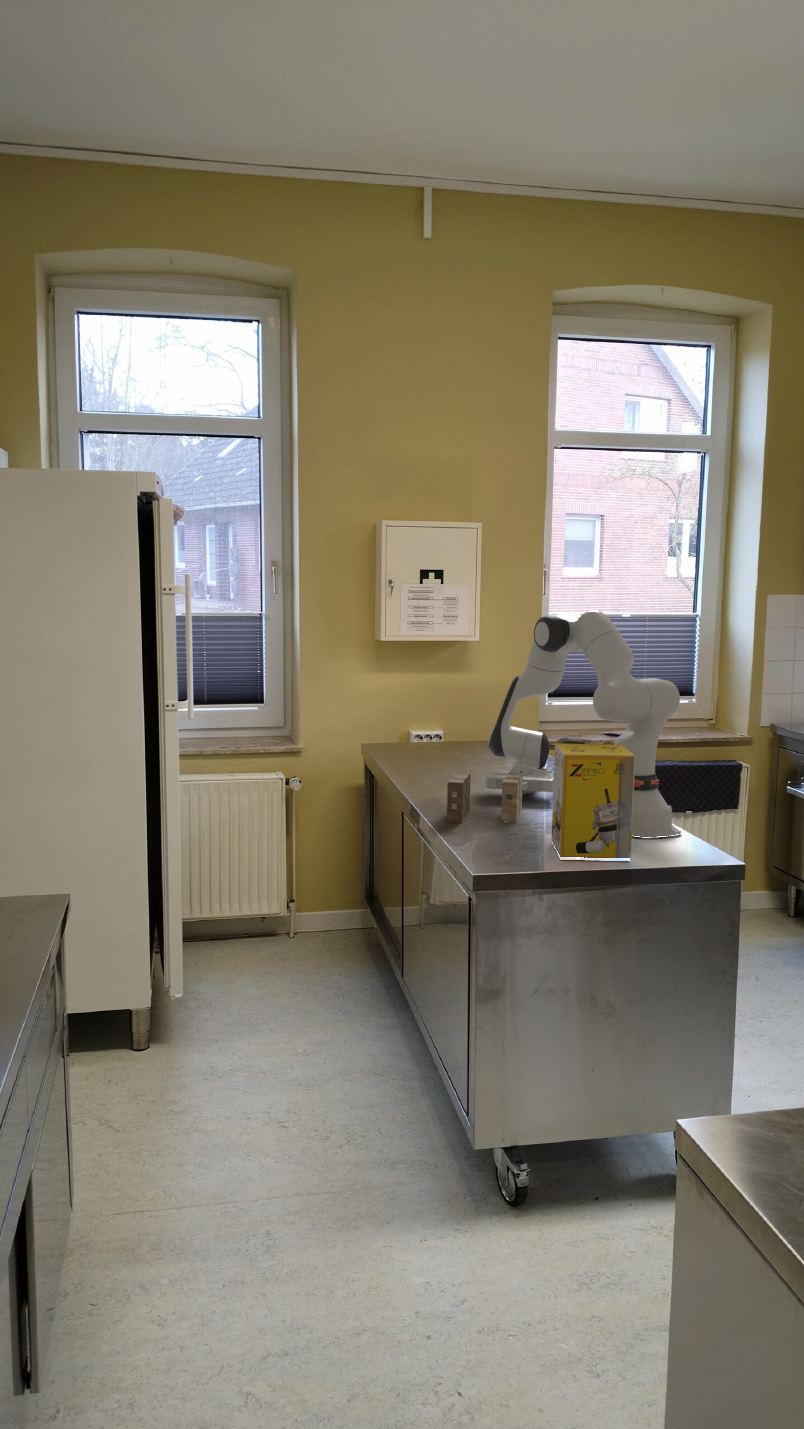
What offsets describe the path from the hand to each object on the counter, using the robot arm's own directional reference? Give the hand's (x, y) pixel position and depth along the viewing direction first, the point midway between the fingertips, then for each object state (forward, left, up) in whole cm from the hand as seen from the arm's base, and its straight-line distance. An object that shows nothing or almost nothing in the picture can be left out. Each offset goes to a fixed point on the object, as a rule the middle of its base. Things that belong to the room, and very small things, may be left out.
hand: (517, 787), depth 288 cm
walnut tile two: (-8, +21, -6) cm, 23 cm away
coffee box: (+15, -25, -6) cm, 30 cm away
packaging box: (-49, +3, -6) cm, 49 cm away
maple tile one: (-11, +6, -6) cm, 14 cm away
